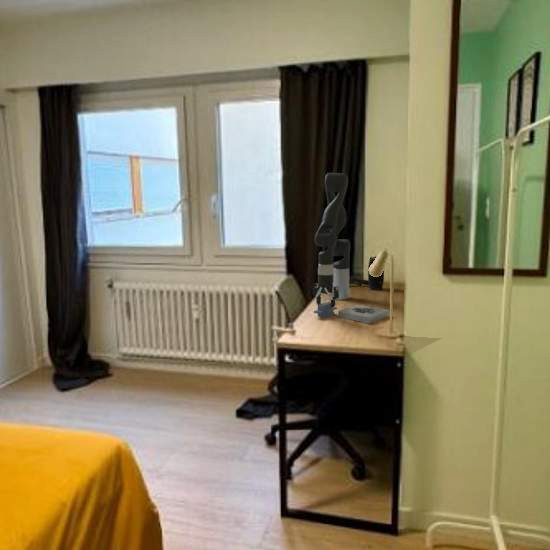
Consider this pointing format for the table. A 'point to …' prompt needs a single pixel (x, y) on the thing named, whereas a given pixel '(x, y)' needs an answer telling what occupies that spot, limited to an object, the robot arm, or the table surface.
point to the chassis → (363, 313)
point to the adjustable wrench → (360, 282)
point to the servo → (325, 310)
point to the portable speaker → (375, 278)
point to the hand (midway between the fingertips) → (325, 305)
